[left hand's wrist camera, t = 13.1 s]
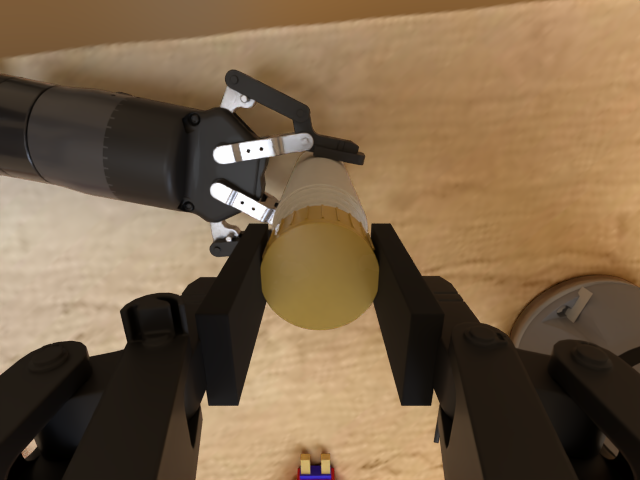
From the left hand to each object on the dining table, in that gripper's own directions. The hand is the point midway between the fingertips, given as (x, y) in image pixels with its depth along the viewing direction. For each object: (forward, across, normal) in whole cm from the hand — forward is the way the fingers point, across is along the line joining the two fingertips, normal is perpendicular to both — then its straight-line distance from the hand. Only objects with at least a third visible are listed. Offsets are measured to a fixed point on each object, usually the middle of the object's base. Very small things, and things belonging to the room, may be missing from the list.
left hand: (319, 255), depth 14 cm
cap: (-2, 0, 0) cm, 2 cm away
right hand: (+13, -3, 0) cm, 13 cm away
